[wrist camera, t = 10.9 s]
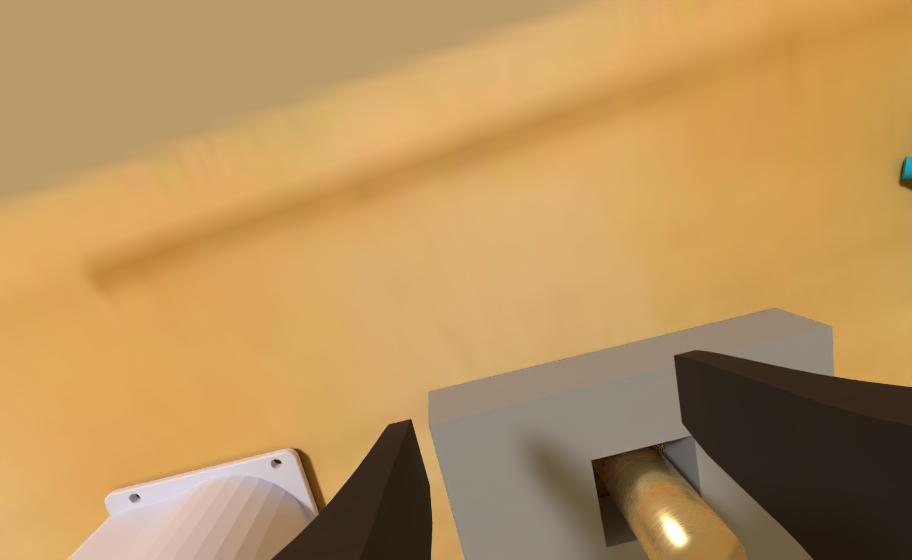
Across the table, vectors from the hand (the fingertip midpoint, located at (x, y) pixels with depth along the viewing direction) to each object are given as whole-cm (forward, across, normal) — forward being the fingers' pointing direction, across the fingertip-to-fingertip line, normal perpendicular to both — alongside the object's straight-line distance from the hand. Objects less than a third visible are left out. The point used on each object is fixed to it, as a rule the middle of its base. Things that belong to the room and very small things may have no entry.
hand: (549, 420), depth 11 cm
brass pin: (+9, -5, +9) cm, 14 cm away
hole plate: (+9, -5, +9) cm, 14 cm away
